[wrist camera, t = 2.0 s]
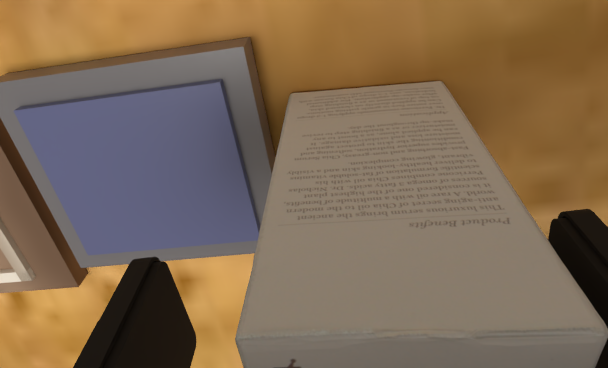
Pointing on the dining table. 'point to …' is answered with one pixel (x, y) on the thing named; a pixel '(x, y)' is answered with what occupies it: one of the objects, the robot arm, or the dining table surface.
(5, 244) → the marked board
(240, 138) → the ink pad
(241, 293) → the dining table surface
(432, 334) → the skincare box
